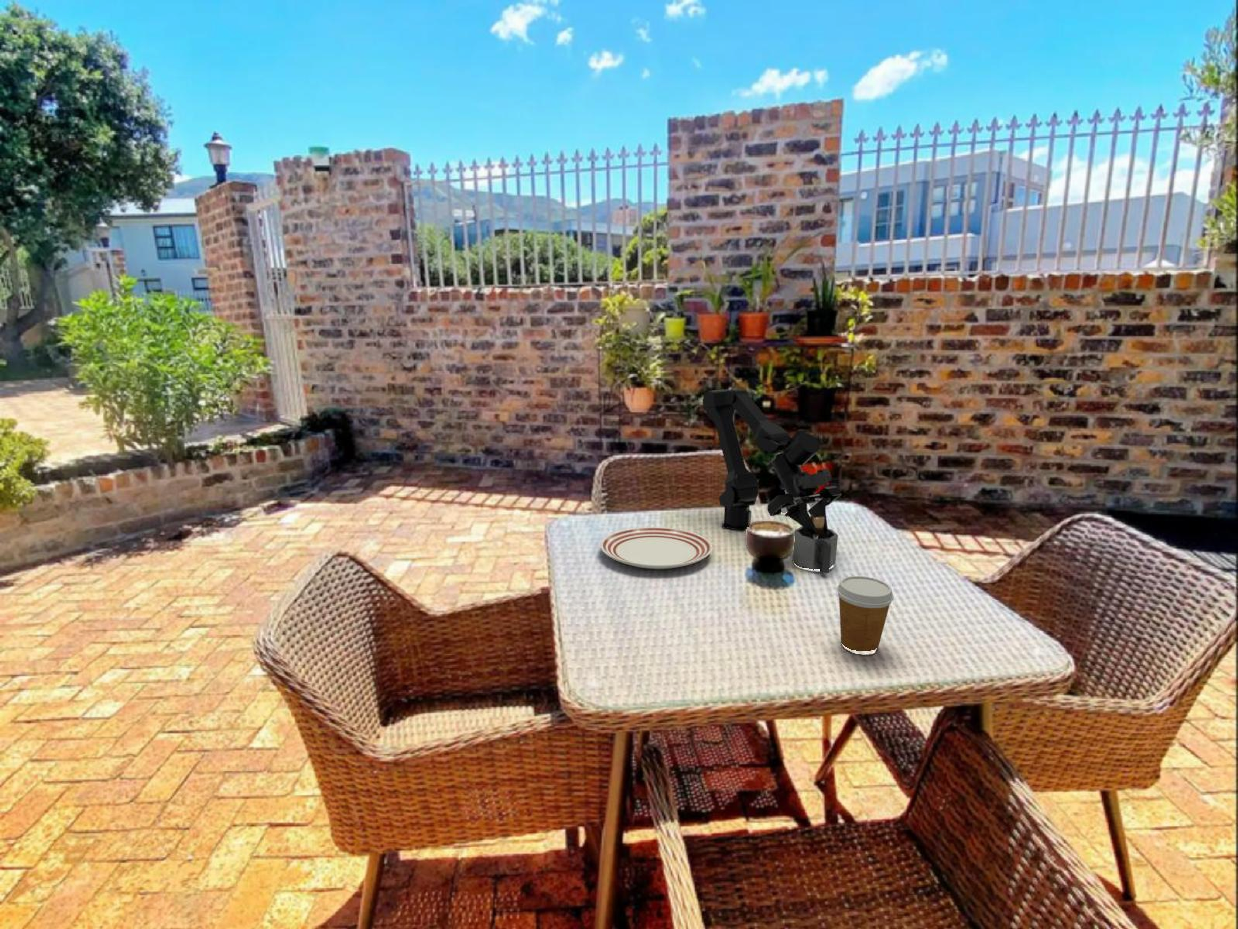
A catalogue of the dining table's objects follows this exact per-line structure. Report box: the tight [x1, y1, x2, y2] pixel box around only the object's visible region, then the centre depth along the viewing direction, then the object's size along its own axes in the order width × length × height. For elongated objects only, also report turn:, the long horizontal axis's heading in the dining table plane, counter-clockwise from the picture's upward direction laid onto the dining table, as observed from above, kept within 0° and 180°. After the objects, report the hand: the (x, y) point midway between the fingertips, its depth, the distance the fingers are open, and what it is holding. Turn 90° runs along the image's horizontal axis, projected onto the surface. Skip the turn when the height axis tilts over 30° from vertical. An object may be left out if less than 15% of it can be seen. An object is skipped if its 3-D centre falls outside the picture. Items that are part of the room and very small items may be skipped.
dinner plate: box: [599, 526, 713, 570], centre depth 159 cm, size 27×27×3 cm
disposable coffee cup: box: [836, 575, 895, 651], centre depth 116 cm, size 10×10×12 cm
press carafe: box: [791, 526, 839, 574], centre depth 151 cm, size 12×9×8 cm
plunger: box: [809, 514, 825, 539], centre depth 152 cm, size 7×7×11 cm
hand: (820, 532), depth 150 cm, fingers closed on plunger, 3 cm apart
